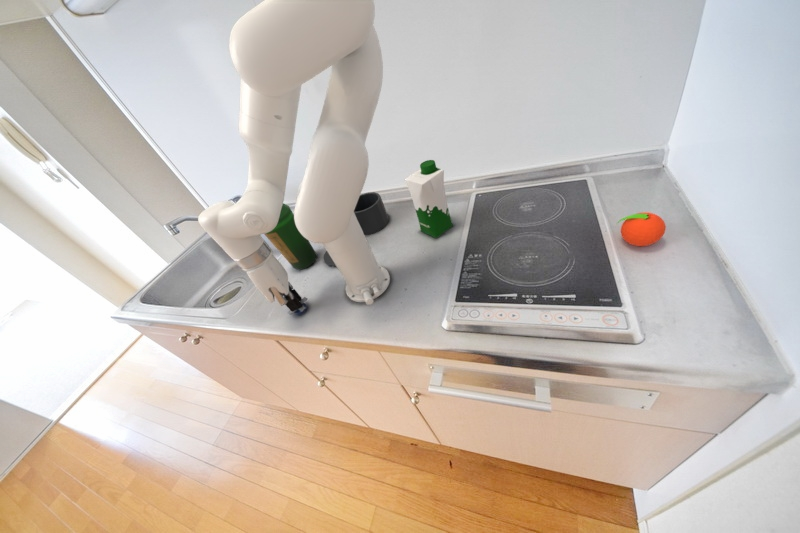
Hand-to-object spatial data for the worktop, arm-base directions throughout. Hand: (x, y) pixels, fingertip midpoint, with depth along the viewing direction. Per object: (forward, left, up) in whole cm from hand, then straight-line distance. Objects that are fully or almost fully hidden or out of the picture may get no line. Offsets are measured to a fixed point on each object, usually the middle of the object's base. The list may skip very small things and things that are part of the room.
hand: (296, 304), depth 72 cm
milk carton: (+6, -46, -3) cm, 46 cm away
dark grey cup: (+25, -30, -2) cm, 39 cm away
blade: (0, 0, -2) cm, 2 cm away
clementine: (-30, -76, -3) cm, 81 cm away
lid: (+16, -16, -2) cm, 23 cm away
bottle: (+22, -4, -3) cm, 22 cm away
